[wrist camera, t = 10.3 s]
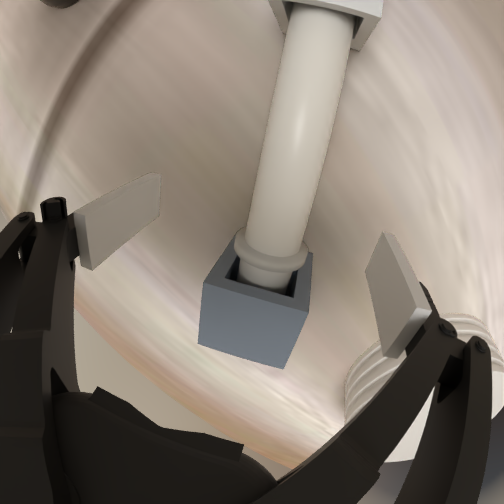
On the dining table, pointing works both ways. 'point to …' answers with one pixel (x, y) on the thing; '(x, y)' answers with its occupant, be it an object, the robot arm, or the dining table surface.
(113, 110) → the dining table surface
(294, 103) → the tube
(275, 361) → the socket
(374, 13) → the sleeve
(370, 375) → the plate stack
